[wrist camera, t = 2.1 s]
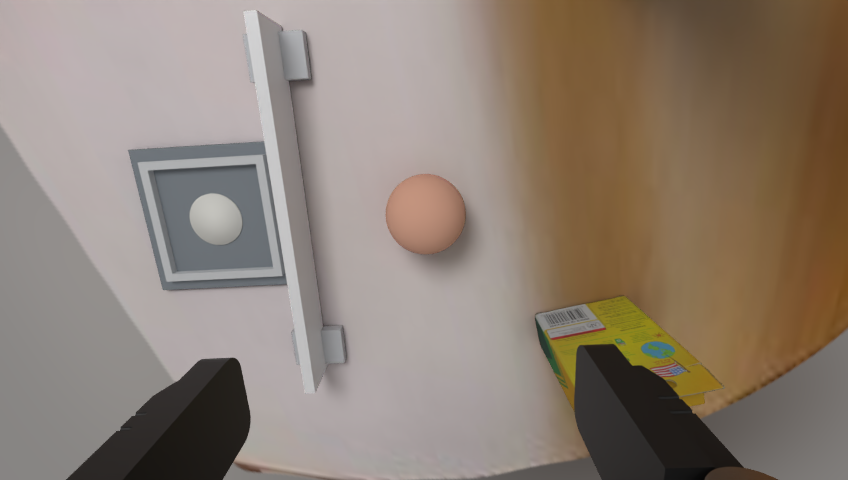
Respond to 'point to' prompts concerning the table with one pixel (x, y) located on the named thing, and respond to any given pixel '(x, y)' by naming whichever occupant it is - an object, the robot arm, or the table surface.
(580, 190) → the table surface
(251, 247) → the slate mat
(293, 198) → the low wall
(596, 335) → the crayon box
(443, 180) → the rubber ball
